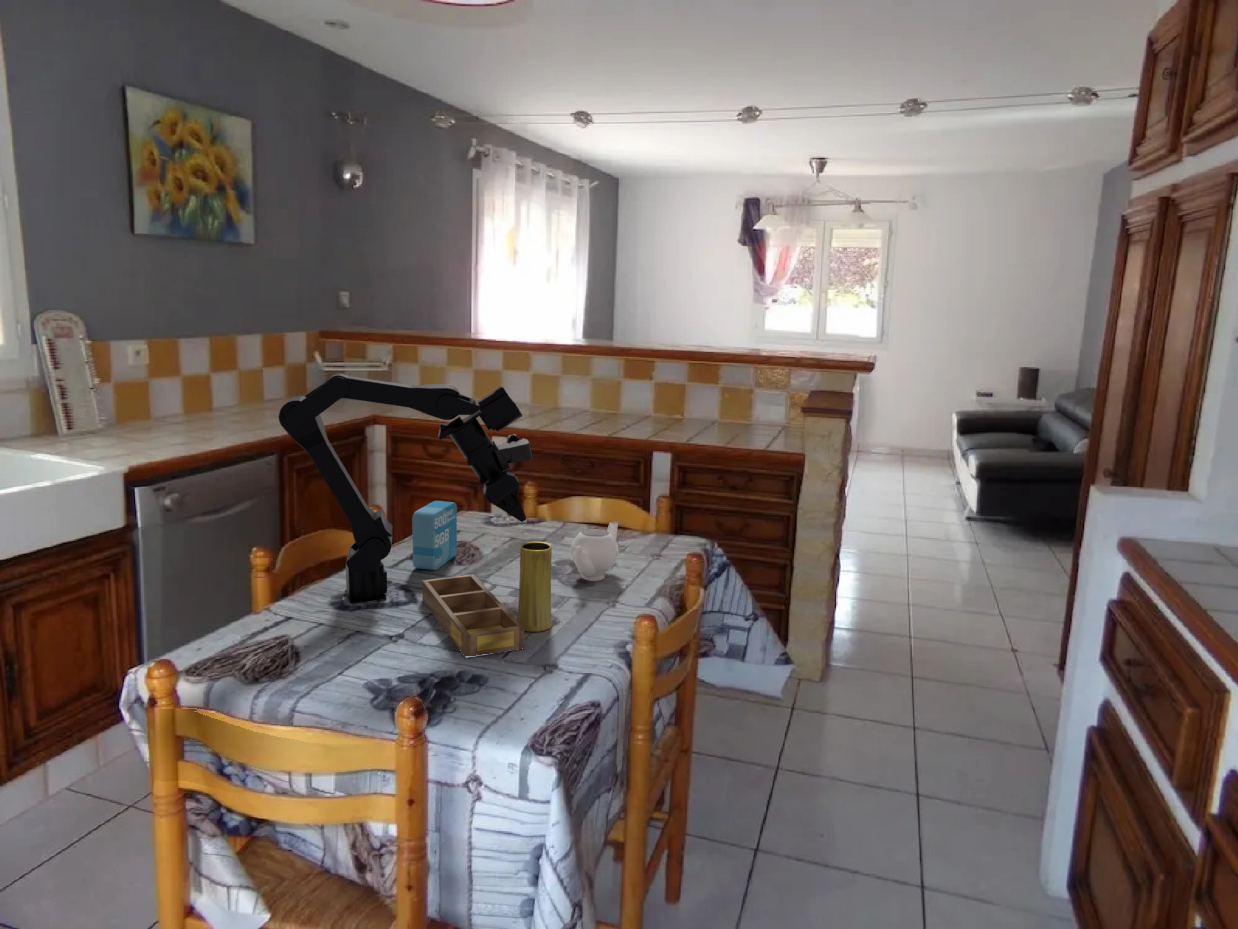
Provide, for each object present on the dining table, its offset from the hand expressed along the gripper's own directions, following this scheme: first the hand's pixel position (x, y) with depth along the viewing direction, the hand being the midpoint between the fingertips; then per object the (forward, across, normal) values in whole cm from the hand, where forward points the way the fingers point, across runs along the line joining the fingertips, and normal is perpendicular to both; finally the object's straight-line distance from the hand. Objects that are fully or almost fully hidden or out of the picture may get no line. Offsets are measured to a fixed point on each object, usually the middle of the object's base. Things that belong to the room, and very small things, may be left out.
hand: (521, 514), depth 163 cm
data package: (+4, +18, +21) cm, 28 cm away
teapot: (+21, +5, -5) cm, 22 cm away
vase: (+13, -18, +8) cm, 23 cm away
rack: (+7, -15, +17) cm, 24 cm away
